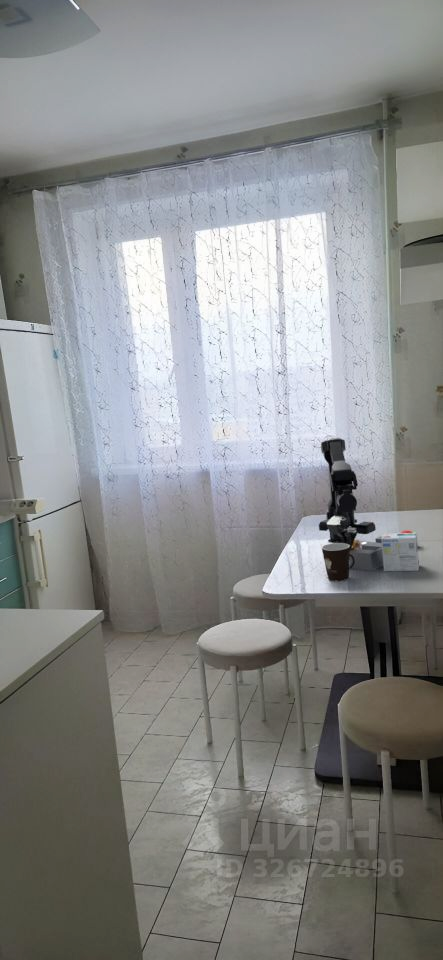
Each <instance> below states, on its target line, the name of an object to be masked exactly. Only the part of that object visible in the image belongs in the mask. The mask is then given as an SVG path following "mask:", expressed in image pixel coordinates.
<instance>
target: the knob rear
mask: <svg viewBox="0 0 443 960" xmlns="http://www.w3.org/2000/svg"><path fill="white" fill-rule="evenodd" d="M368 542H369V541H368ZM368 542H367V541H360V540H359V539H355V540H354V542H353V545H352V548H353V547H355V548H360V549H362V545H363V544H366V543H368Z"/></svg>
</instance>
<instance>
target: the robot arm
mask: <svg viewBox="0 0 443 960" xmlns="http://www.w3.org/2000/svg"><path fill="white" fill-rule="evenodd" d="M320 449H321V450H320V451H321V454H322V455H323V458H324V460H325V461H326V463H327V465H328V466H327V467H328V479H329V491H330V499H329V502H328V503H327V510H325V519H324V520H322V521H320V522H319V523H318V530H319V531H321V532H322V531H324V532H327V531H329V539H328V540H327V542H331V543H345V544H349V545H350V550H351V548H352V545H353V542H354V540H356V538H357V535H358V534H359V535H368V534H371V533H373V532H375V531H376V529H377V528H376V524H375V522H374V521H373V522H372V521H362V522H360V523H358V519H357V518H356V517H355V511H357V506H358V505H357V504H358V501H357V497H356V496H355V495H354V493H353V490H357V489H358V486H359V485H358V478H357V474H356V473H355V471H354V470H352V467H351V464H349V463H348V462H346V458H345V455H344V452H345V451H346V450H347V448H346V441H345V439H343V438H341V437H335V438H334V437H333V438H328V439H325V440H323V441H322V442H320Z"/></svg>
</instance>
